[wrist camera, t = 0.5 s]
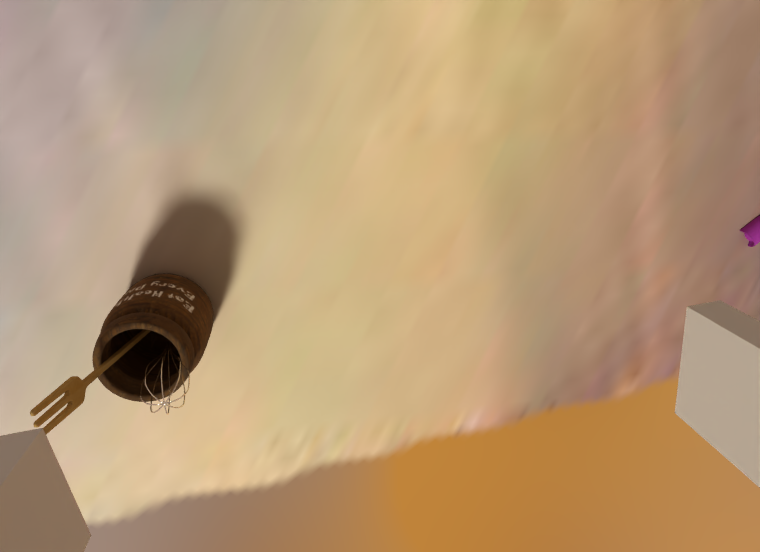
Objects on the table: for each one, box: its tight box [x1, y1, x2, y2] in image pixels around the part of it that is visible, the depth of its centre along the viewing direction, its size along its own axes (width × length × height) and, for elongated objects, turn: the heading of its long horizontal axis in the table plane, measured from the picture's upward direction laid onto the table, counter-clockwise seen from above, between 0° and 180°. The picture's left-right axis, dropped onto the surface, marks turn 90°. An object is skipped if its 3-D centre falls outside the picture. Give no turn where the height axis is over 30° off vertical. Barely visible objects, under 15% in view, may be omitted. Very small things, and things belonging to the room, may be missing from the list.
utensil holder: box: [30, 274, 213, 434], centre depth 29 cm, size 6×6×12 cm
